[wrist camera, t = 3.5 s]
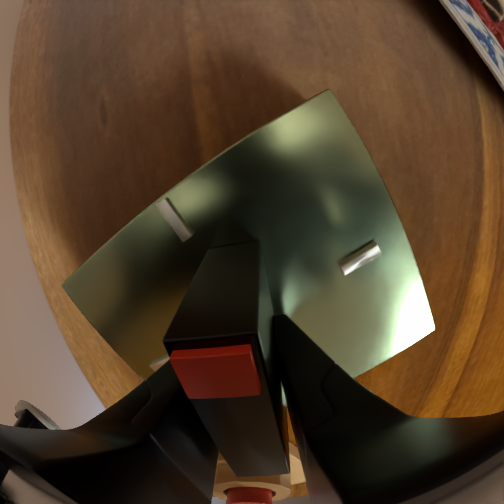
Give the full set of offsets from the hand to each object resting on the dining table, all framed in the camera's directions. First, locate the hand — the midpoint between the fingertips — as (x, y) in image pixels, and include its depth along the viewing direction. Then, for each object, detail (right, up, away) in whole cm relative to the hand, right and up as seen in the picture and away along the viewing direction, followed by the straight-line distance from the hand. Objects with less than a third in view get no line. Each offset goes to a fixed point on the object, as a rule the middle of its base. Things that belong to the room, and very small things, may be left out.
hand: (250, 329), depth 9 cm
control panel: (0, +1, +3) cm, 4 cm away
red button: (0, -17, +7) cm, 18 cm away
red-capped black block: (0, 0, 0) cm, 0 cm away
